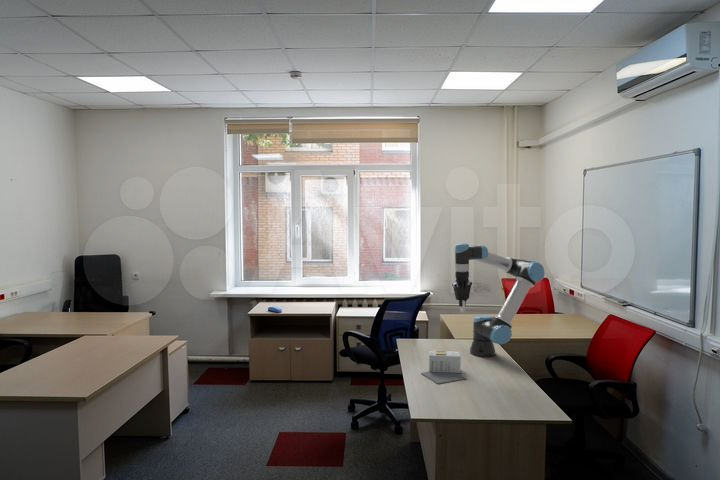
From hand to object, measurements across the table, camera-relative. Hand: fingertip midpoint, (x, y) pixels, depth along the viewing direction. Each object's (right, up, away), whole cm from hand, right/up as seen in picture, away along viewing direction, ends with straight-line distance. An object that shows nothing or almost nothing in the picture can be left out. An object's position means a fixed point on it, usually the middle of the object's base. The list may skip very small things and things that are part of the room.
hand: (462, 311), depth 267 cm
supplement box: (-3, -26, -10) cm, 28 cm away
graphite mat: (-14, -32, -18) cm, 39 cm away
